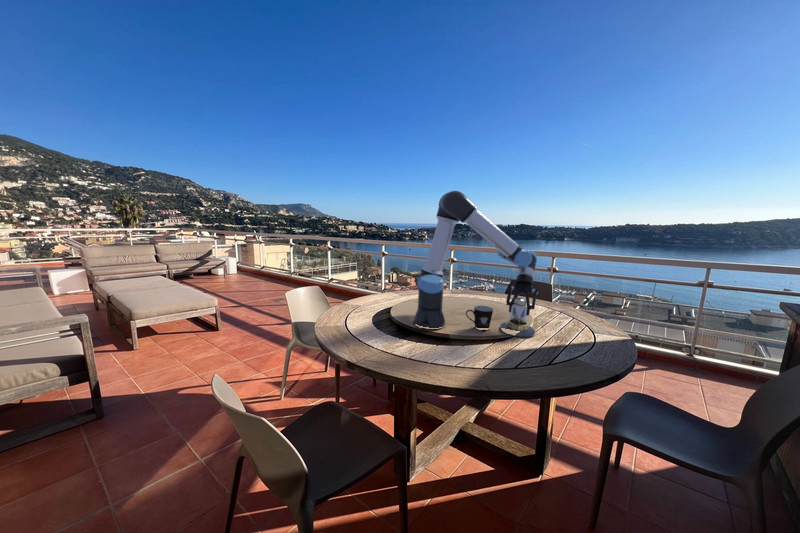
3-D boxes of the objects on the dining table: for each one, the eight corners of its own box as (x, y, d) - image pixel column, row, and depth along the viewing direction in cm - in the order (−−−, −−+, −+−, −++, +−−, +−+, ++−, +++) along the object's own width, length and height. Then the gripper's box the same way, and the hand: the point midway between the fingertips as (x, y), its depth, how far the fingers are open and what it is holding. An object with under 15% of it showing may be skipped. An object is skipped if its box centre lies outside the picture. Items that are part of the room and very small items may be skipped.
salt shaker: (509, 324, 137) (511, 298, 135) (517, 323, 139) (520, 297, 137) (517, 328, 133) (520, 301, 130) (525, 327, 135) (529, 300, 132)
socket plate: (493, 326, 140) (494, 318, 140) (517, 323, 146) (518, 314, 145) (516, 339, 127) (517, 330, 126) (541, 335, 132) (543, 325, 132)
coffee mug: (493, 327, 140) (495, 307, 138) (488, 333, 132) (490, 312, 131) (470, 322, 146) (471, 303, 144) (463, 327, 139) (465, 307, 137)
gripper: (544, 284, 142) (538, 327, 131) (506, 279, 150) (497, 319, 139) (545, 275, 136) (539, 320, 125) (505, 271, 145) (496, 312, 133)
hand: (517, 319), depth 132 cm, fingers closed on salt shaker, 5 cm apart
